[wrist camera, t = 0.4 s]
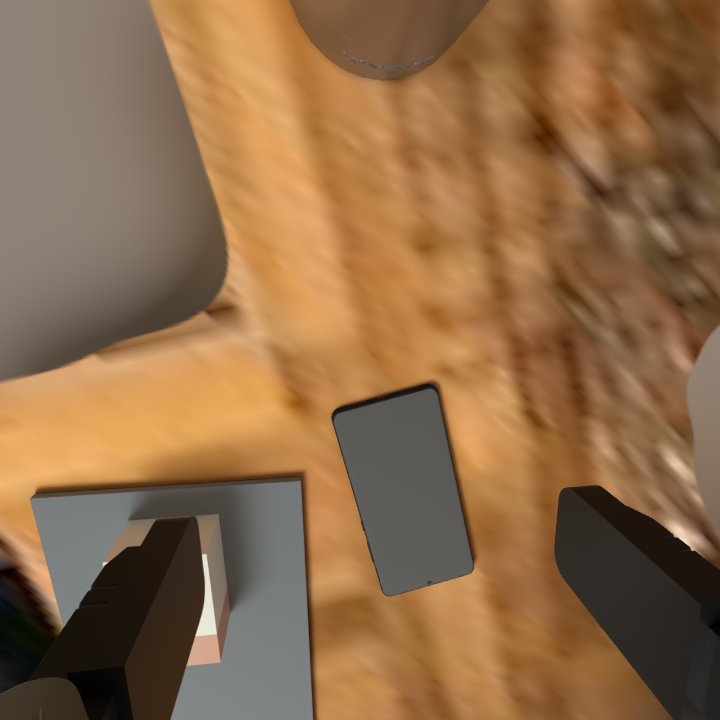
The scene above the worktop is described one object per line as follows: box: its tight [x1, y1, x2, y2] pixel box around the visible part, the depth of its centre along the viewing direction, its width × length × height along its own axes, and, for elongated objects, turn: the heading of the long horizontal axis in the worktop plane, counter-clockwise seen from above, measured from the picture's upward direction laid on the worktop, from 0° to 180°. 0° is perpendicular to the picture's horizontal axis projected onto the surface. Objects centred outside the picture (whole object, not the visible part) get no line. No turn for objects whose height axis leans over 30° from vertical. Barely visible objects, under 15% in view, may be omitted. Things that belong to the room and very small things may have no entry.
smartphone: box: [331, 384, 474, 596], centre depth 30 cm, size 7×1×15 cm
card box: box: [103, 514, 230, 666], centre depth 28 cm, size 8×6×4 cm
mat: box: [30, 477, 313, 720], centre depth 31 cm, size 24×16×1 cm, turn 0°
